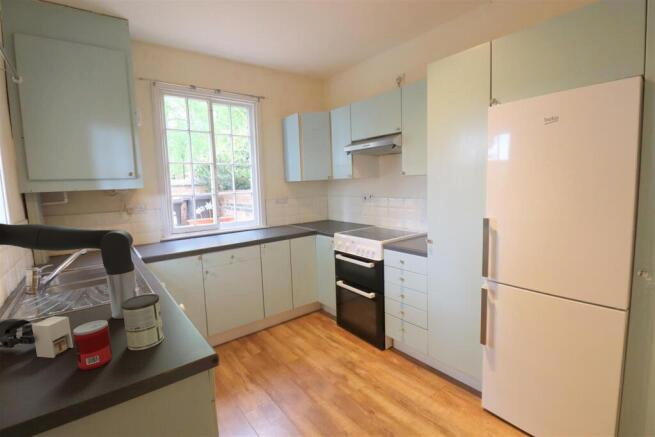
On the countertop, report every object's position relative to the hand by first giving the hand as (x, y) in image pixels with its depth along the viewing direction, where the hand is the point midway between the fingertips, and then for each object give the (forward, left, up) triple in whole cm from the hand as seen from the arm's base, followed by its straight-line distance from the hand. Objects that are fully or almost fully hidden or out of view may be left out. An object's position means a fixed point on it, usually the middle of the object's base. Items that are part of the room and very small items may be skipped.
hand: (48, 333), depth 96 cm
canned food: (-14, +15, -6) cm, 21 cm away
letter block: (-1, +1, -6) cm, 6 cm away
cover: (-1, +1, -6) cm, 6 cm away
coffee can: (-26, +9, -6) cm, 28 cm away
